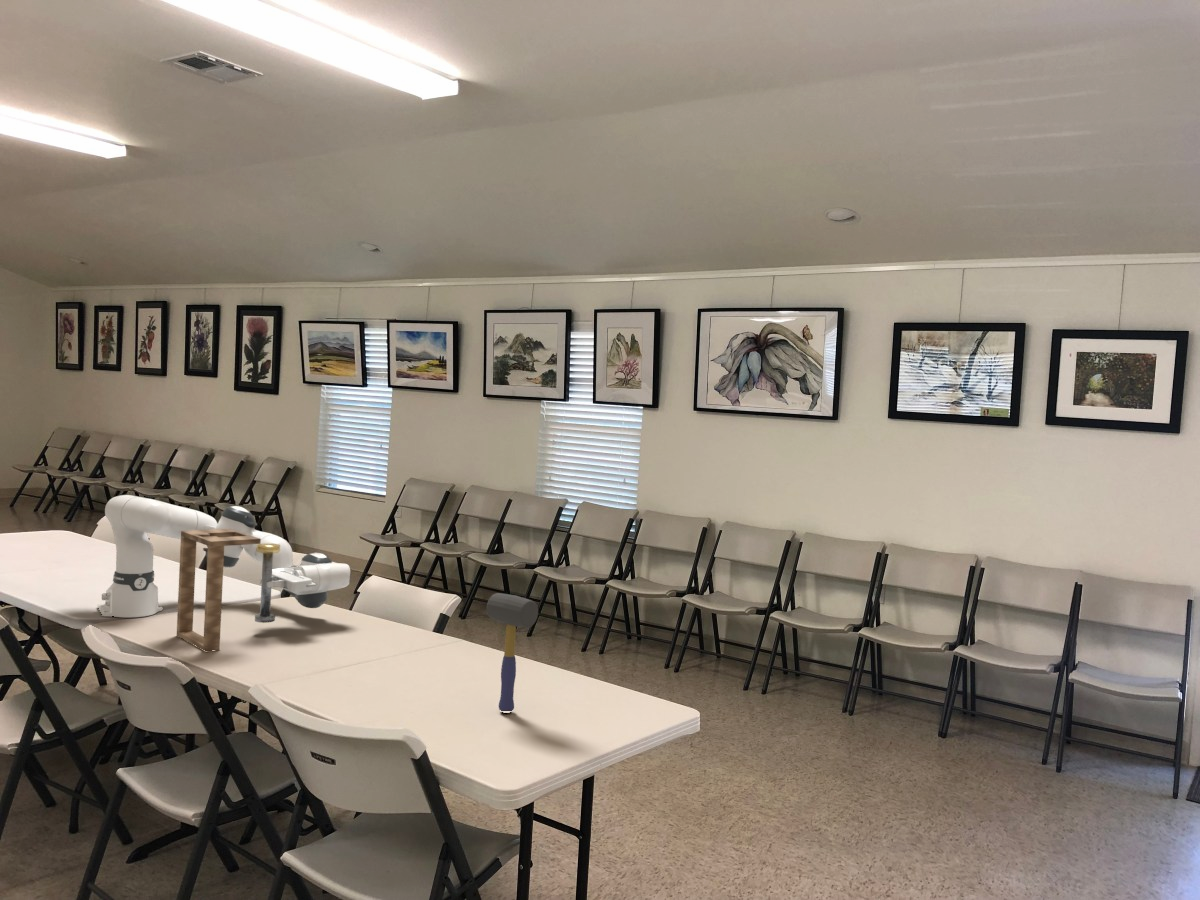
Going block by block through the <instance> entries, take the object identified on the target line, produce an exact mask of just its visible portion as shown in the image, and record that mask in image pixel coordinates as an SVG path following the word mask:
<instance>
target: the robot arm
mask: <svg viewBox="0 0 1200 900" xmlns="http://www.w3.org/2000/svg"><path fill="white" fill-rule="evenodd" d="M104 507H105V508H104V516H105V517H106V519H107V521H108V522H109V523H110V526H111V529H112V533H113V538H114V540H115V549H116V551H115V552H116V554H115V556H116V558H115V559H116V560H115V571H114V574H113V578H112V584H111V585H110V586H109V587H108V588H107V589H106V591H105V593H102V594H101V601H105V602H103V603H98V604H97V607H98V608H99V609H98V608H97V609H98V611H99V610H100V611H99V613H100V612H101V613H100V615H101V614H102V615H101V617H112V616H114V617H116V618H142V617H148V616H152V615H155V614H156V613H158V612H161V611H163V607H162V606H159V588H158V586H157V585H156V584H154V581H155V571H154V551H155V549H154V545H153V544H152V543H151V541H150V538H149V537H148V534H152V535H156V536H161V537H167V538H170V539H176V540H180V541H181V531H192V530H213V529H232V530H235V531H238V532H241V533H244V534H247V535H250V536H254V537H257V538H260V539H261V543H260V544H262V543H273V544H279V545H280V552H278V553H273V565H272V581H267V582H266V586H267V587H271V588H278V589H282V590H284V591H286V592H288V594H290V595H291V596H292V597H293V598H294V599H295V600H296V601H297V603H299V604H300V605H301V606H302V607H304V608H308V609H316V608H320V607H321V606H323V605H324V604H325V603H326V602H327V601H328V597H329V594H328V593H329V591H335V590H338V589H339V590H340V589H343V588H346V587H347V586H349V585H350V583H351V579H352V577H351V575H352V572H351V570H352V569H351V568H350V565H349V564H347V563H341V562H340V563H338V562H334V561H333V560H332V559H331V558H330V557H329V556H328V555H327V554H326V553H324V552H310V553H307V554H305V555H304V556H303V557H302V558H301V561H300V565H294V557H293V556H294V555H293V549H292V547H291V545H290V543H289V542H288V541H287V540H286V539H284V538H283V537H280V536H279V535H276V534H274V533H270V532H265V531H260V530H257V529H255V526H258V523H257V522H256V521H255V518H254V516H253V514H252V512H250V511H249V510H247V509H246V508H244V507H242V506H238V505H235V506H234V505H232V506H231V505H230V506H227V507H225V508H224V510H223V511H222V513H221V516H220V519H218V521H217V520H216V519H215V518H214V517H213V516H211V515H209V514H207V513H205V512H202V511H199V510H196V509H192V508H188V507H185V506H179V505H175V504H171V503H168V502H165V501H161V500H158V499H153V498H147V497H141V496H137V495H131V494H122V495H117V496H113V497H112V498H110V499H109V500H108V501H107V503H106V504H105V506H104ZM256 548H257V544H248V545H231V546H224V563H223V569H225V568H233V567H235V566H236V564H237V563H238V562H239V560H240V556H241V554H242V552H243V550H244V551H245V553H246V554H247V555H248V556H249V557H250V558H251V559H252V560H254V561H255V562H257V563H259V564H261V565H262V564H263V553H259V552H256ZM202 551H204V552H205V557H207V552H208V546H207V545H206V547H203V548H202ZM259 584H260V585H262V577H261V578H260V579H259Z"/></svg>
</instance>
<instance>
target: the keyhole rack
mask: <svg viewBox="0 0 1200 900" xmlns="http://www.w3.org/2000/svg"><path fill="white" fill-rule="evenodd" d="M197 543H199V544H202V545H204V546H205V545H206V547H207V546H208V547H207V548H208V552H207V556H206V573H205V574H206V578H205V598H204V599H205V602H204V620H203V623H204V625H203V635H201V634H199V633H198V632H196V631H194V630H193V628H194V627H193V626H194V607H195V606H194V604H195V582H196V562H197V560H196V558H197ZM260 543H261V539H260V538H257V537H254V536H250V535H247V534H244V533H241V532H238V531H235V530H232V529H213V530H192V531H181V540H180V546H179V547H180V549H179V570H178V571H179V573H178V592H177V593H178V594H177V615H176V616H177V617H176V618H177V619H176V637H178V636H179V637H181V638H183V639H184V640H183V639H182V640H183V641H185V640H186V641H185V642H187V641H188V642H190V643H192V644H194V645H196V646H197V647H199V648H201V649H203V650H205V651H212V650H219V651H221V650H220V648H221V647H220V646H221V625H222V605H223V604H222V602H223V600H222V599H223V585H224V584H223V581H224V568H223V563H224V546H231V545H248V544H260ZM179 637H178V638H179ZM181 638H180V639H181ZM188 642H187V643H188ZM190 643H189V644H190ZM192 644H191V645H192ZM194 645H193V646H194ZM197 647H196V648H197ZM199 648H198V649H199ZM201 649H200V650H201ZM203 650H202V651H203ZM212 652H213V651H212Z"/></svg>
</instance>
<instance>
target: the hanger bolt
mask: <svg viewBox="0 0 1200 900" xmlns="http://www.w3.org/2000/svg"><path fill="white" fill-rule="evenodd" d="M256 552H259V553H263V564H261V565H262V566H261V567H262V568H261V578H262V584H260V585H261V587H260V606H259V607H260V609H259V610H260V611H259V613H257V614H255V615H254V622H256V623H263V624H264V623H273V622H275V621H276V615H275V614H274V613H271V607H272V605H271V604H272V602H271V601H272V587H267V586H266V582H267V581H272V565H273V553H278V552H280V545H279V544H273V543H262V544H257V548H256Z"/></svg>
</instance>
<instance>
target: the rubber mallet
mask: <svg viewBox="0 0 1200 900" xmlns="http://www.w3.org/2000/svg"><path fill="white" fill-rule="evenodd" d="M486 614H487V616H488V617H489V619H491V620H493V621H495V622H498V623H501V624H505V625H506V627H505V641H504V654H503V658H502V662H501V667H500V668H501V669H500V682H501V685H500V698H499V702H498V709H499V711H500V710H501V711H512V710H513V711H514V709H515V703H514V701H515V700H514V692H515V691H514V690H515V682H516V675H517V674H516V673H517V661H516V660H517V659H516V656H515V653H516V652H515V650H516V631H517V627H518V628H519V627H520V628H524V629H525V628H526V629H527V628H528V629H529V628H531V627H532V626H533V625H535V623H536V621H537V619H538V616H539V608H538V604H537V603H536V602H535V601H533V600H532V599H529V598H525V597H521V596H519V595H515V594H508V593H502V592H500V593H499V592H497V593H493V594H492V595H491V596H490V597H489V599H488V601H487V603H486ZM513 711H512V712H513Z"/></svg>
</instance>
